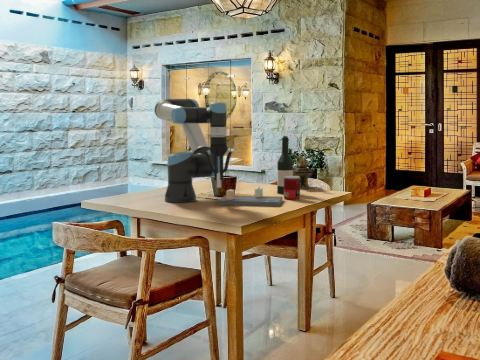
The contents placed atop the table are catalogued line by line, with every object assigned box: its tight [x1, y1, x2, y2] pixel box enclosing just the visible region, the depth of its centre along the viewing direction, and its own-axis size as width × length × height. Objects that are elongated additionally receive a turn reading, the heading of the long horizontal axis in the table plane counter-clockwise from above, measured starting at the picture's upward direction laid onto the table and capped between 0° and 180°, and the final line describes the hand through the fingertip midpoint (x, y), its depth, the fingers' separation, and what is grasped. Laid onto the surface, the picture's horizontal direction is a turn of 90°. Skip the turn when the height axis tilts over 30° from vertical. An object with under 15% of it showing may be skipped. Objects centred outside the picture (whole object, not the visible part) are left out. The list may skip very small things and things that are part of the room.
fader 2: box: [254, 186, 264, 197], centre depth 248 cm, size 3×5×4 cm, turn 170°
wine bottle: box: [276, 135, 294, 195], centre depth 271 cm, size 8×8×30 cm
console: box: [218, 194, 283, 207], centre depth 245 cm, size 28×16×2 cm, turn 80°
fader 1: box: [225, 188, 236, 200], centre depth 241 cm, size 3×5×4 cm, turn 170°
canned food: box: [283, 176, 301, 201], centre depth 255 cm, size 8×8×11 cm
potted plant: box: [293, 152, 313, 190], centre depth 291 cm, size 20×10×20 cm, turn 7°
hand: (219, 187), depth 242 cm, fingers closed
